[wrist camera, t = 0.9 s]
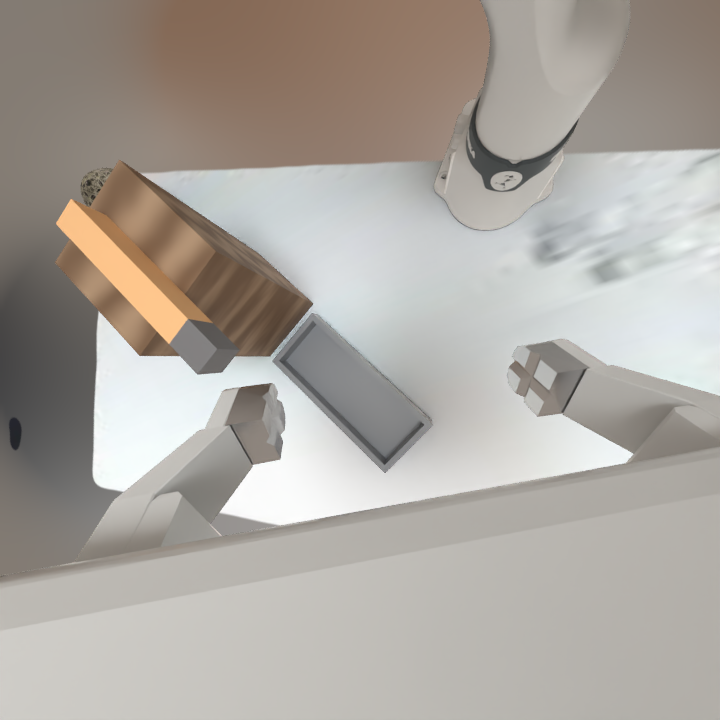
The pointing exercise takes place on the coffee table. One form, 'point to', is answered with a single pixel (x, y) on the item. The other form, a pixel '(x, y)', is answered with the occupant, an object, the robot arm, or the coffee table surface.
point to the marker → (148, 289)
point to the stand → (187, 270)
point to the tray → (352, 393)
